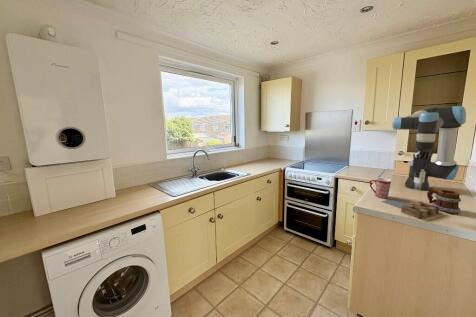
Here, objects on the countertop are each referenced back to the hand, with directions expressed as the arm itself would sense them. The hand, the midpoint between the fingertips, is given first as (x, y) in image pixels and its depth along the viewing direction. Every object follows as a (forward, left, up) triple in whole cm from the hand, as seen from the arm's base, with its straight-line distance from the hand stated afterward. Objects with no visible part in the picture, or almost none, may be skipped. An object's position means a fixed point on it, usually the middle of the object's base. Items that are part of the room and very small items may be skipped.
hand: (418, 182), depth 112 cm
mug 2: (-23, +2, -20) cm, 30 cm away
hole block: (-5, 0, -20) cm, 20 cm away
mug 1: (-9, -27, -20) cm, 34 cm away
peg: (0, 0, -4) cm, 4 cm away
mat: (-8, -14, -20) cm, 25 cm away
